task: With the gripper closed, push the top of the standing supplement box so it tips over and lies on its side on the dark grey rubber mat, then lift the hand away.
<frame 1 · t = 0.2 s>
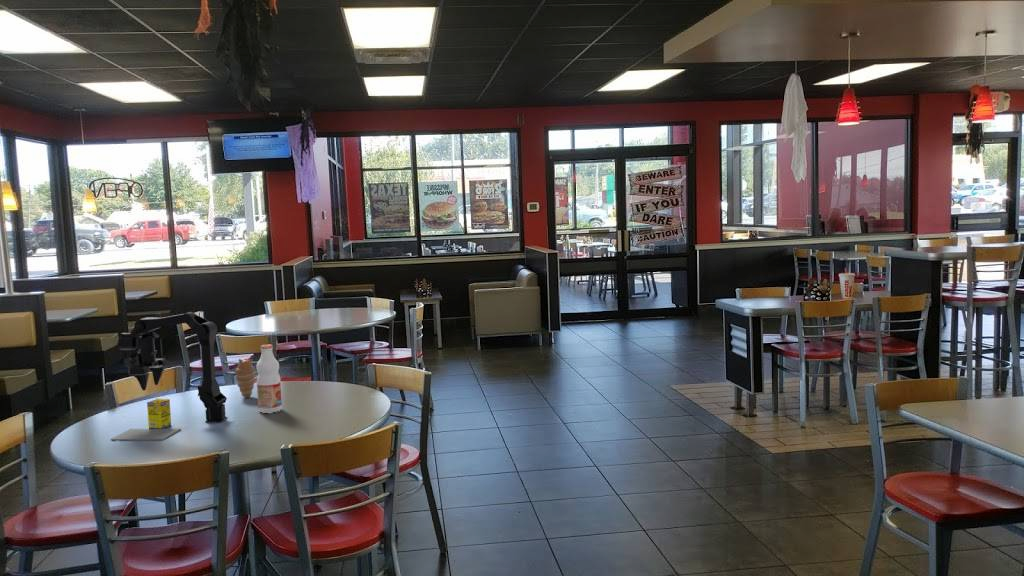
hand: (150, 387, 306), 14 cm above the table, tool pointing down, fingers open, 9 cm apart
fruit juice: (270, 411, 318), on the table
supplement box: (160, 428, 297), on the table
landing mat: (146, 435, 287), on the table
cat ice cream: (247, 398, 343), on the table
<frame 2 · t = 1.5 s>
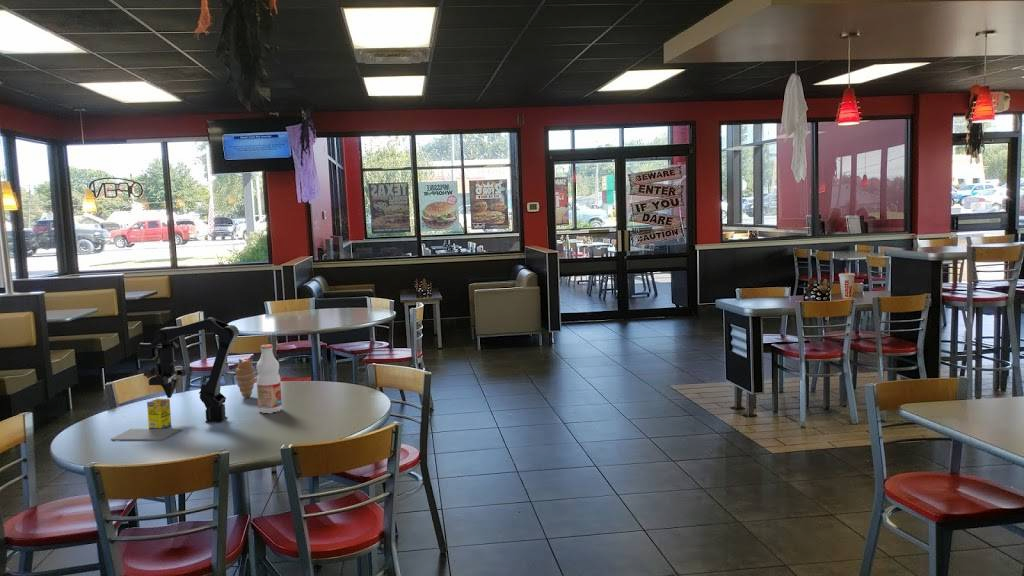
hand: (169, 397, 304), 10 cm above the table, tool pointing down, fingers closed
nothing on the table moved.
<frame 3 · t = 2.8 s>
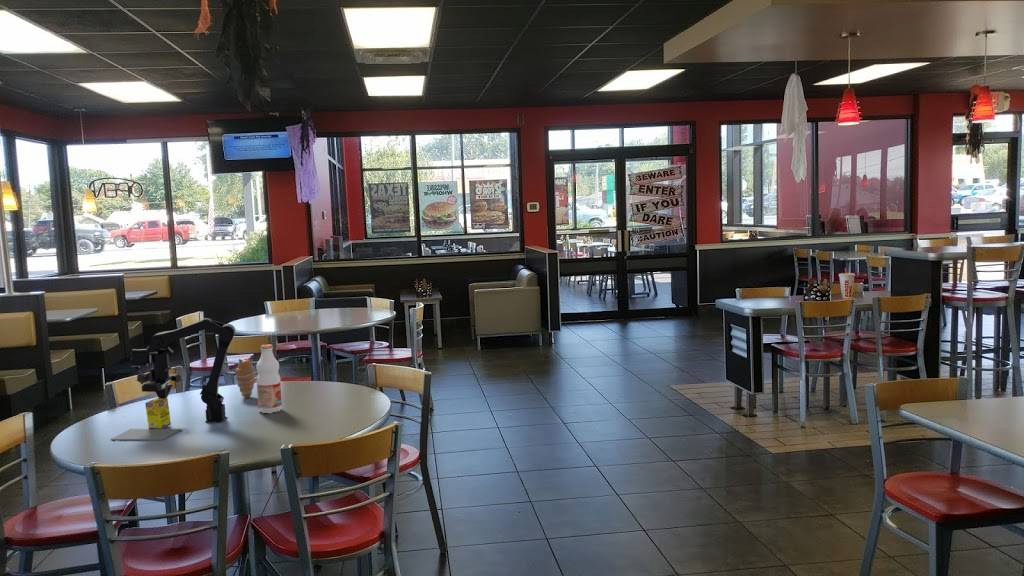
hand: (162, 404, 300), 9 cm above the table, tool pointing down, fingers closed
supplement box: (160, 427, 297), on the table, touching gripper
everything else where it was.
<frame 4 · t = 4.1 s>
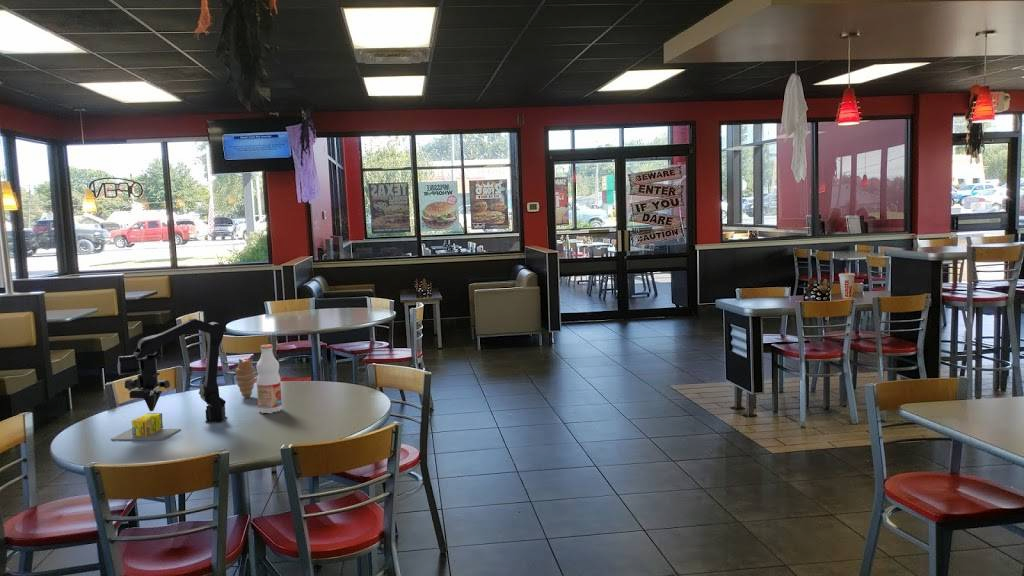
hand: (151, 411, 291), 8 cm above the table, tool pointing down, fingers closed
supplement box: (156, 420, 295), point 4 cm above the table, touching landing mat
everything else where it was.
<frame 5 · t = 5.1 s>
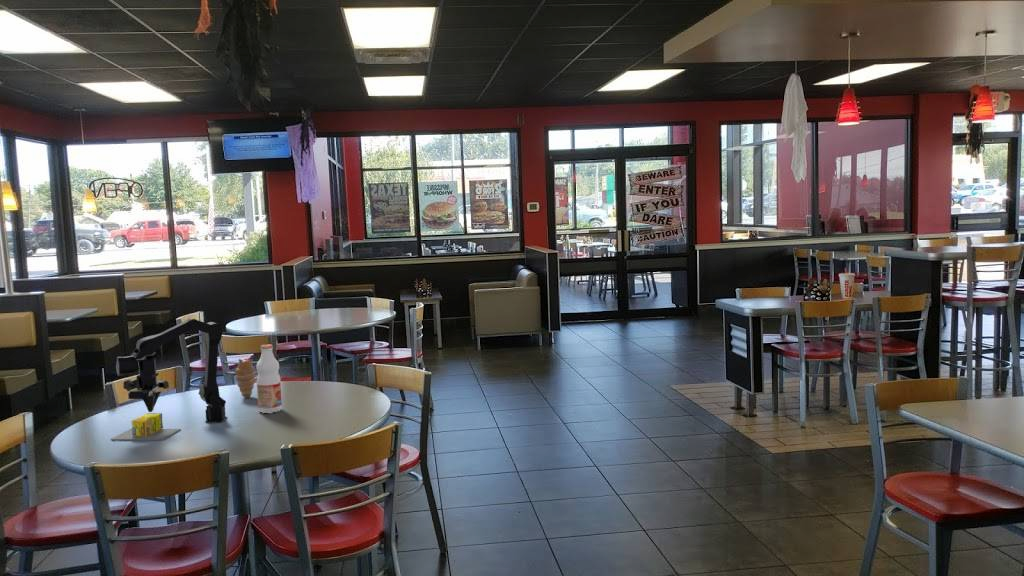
hand: (150, 411, 290), 8 cm above the table, tool pointing down, fingers closed
nothing on the table moved.
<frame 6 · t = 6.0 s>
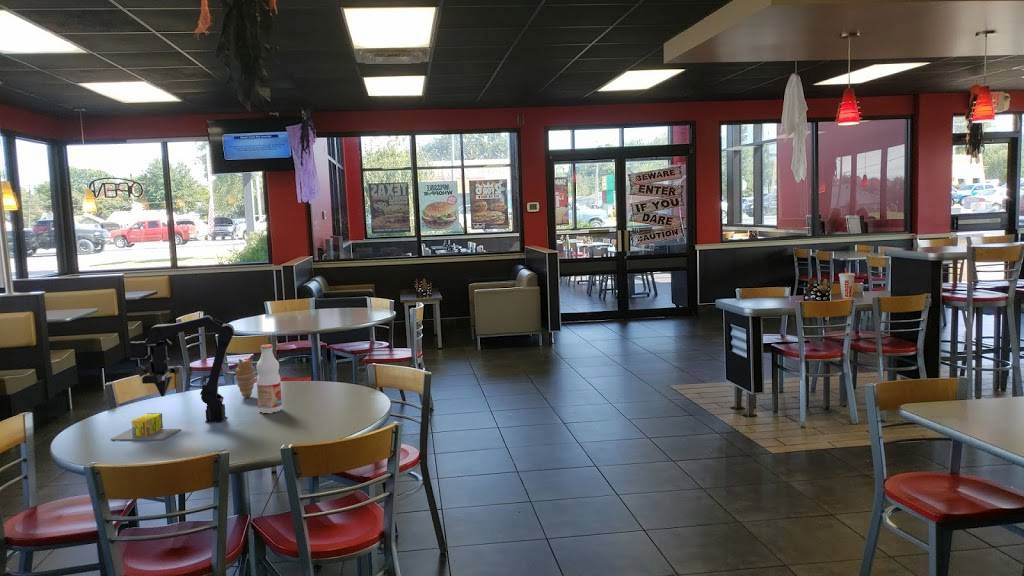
hand: (162, 396, 299), 12 cm above the table, tool pointing down, fingers closed
nothing on the table moved.
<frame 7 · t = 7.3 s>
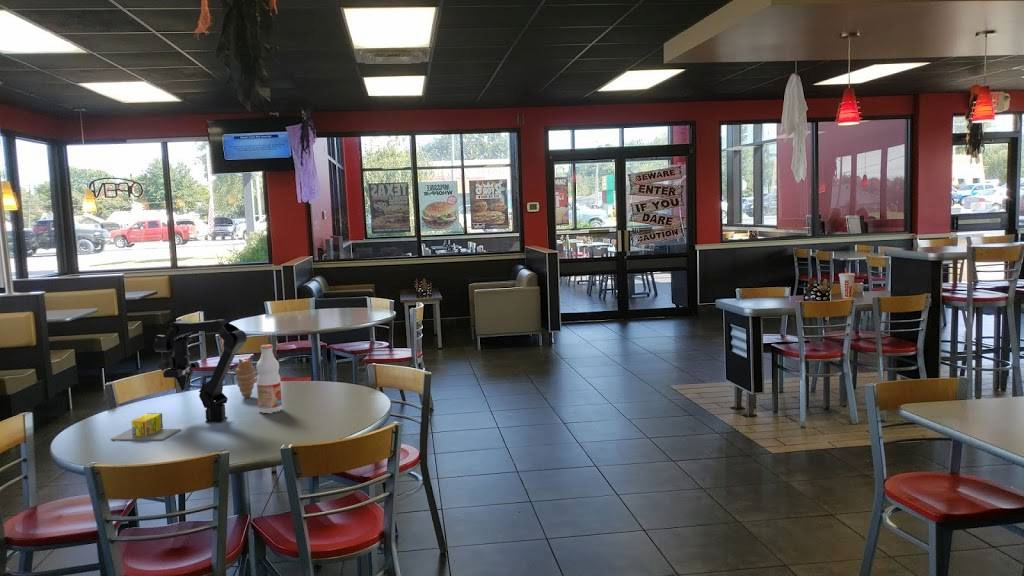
hand: (183, 390, 307), 12 cm above the table, tool pointing down, fingers closed
nothing on the table moved.
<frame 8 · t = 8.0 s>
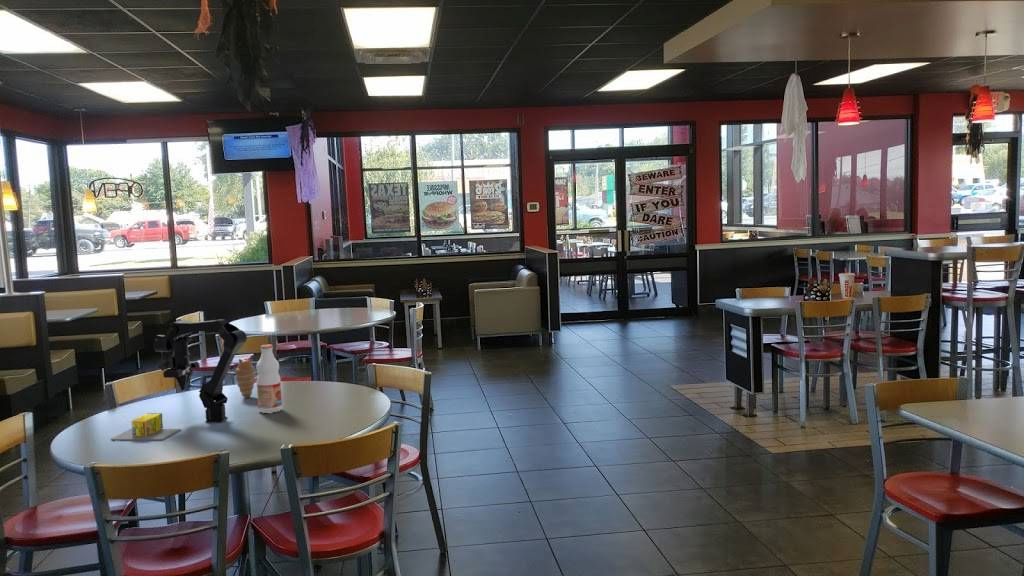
hand: (183, 390, 307), 12 cm above the table, tool pointing down, fingers closed
nothing on the table moved.
at the end: supplement box tilted 91°; supplement box inside the target area (4.5 cm from its centre), point 3.6 cm above the table; supplement box touching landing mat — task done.
